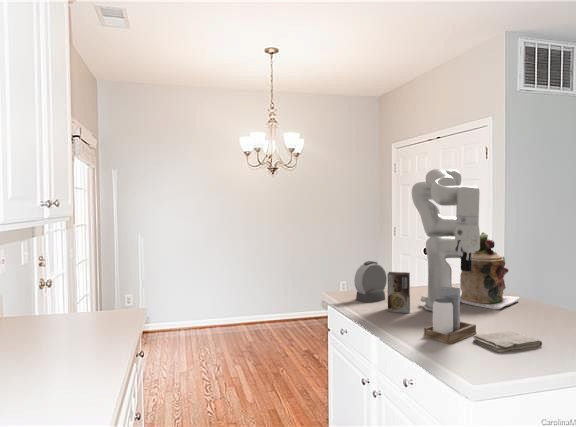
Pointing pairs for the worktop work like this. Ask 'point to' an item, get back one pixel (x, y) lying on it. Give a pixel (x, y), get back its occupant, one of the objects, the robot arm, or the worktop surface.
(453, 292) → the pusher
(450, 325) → the can
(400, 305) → the coffee box
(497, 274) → the cookie jar
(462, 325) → the wooden tray
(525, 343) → the washcloth
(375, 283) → the alarm clock
